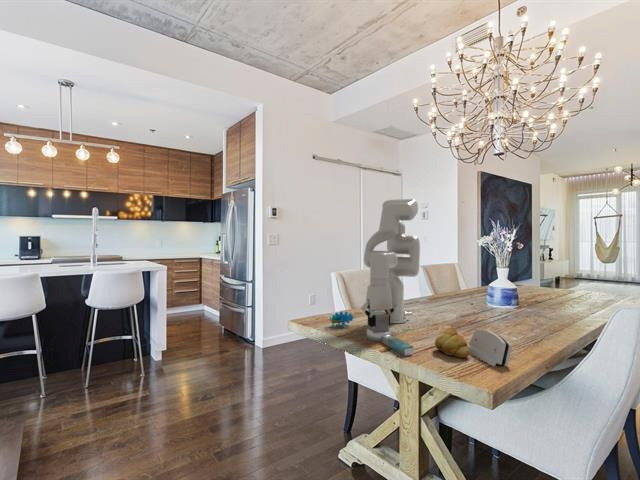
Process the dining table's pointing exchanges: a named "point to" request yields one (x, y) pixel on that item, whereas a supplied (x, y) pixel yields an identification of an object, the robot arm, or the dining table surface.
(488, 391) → the dining table surface
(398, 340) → the ratchet
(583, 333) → the dining table surface
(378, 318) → the socket
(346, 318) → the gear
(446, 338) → the bread roll
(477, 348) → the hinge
